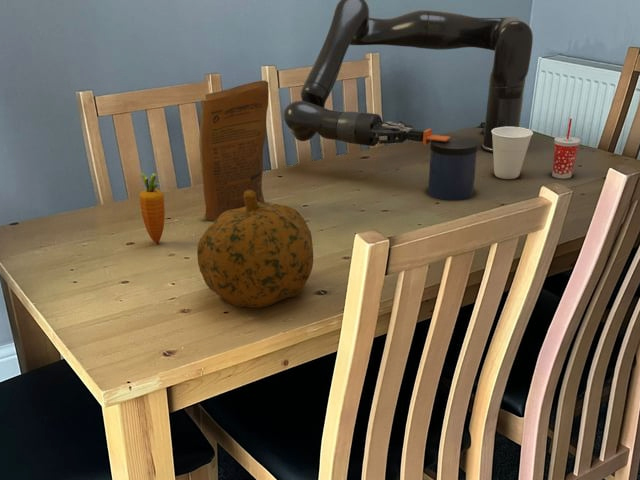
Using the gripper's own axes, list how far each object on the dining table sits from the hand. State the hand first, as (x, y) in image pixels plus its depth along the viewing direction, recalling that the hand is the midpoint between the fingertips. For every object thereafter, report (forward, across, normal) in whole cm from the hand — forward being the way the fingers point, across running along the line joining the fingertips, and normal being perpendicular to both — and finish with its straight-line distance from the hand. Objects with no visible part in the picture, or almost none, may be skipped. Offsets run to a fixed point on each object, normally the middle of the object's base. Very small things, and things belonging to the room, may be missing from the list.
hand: (425, 136), depth 186 cm
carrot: (-35, +58, -13) cm, 69 cm away
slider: (+3, 0, -2) cm, 3 cm away
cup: (+15, -19, -13) cm, 27 cm away
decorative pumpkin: (-3, +69, -13) cm, 70 cm away
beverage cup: (+27, -25, -13) cm, 39 cm away
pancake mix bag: (-30, +35, -13) cm, 48 cm away
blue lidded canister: (+7, 0, -12) cm, 14 cm away
